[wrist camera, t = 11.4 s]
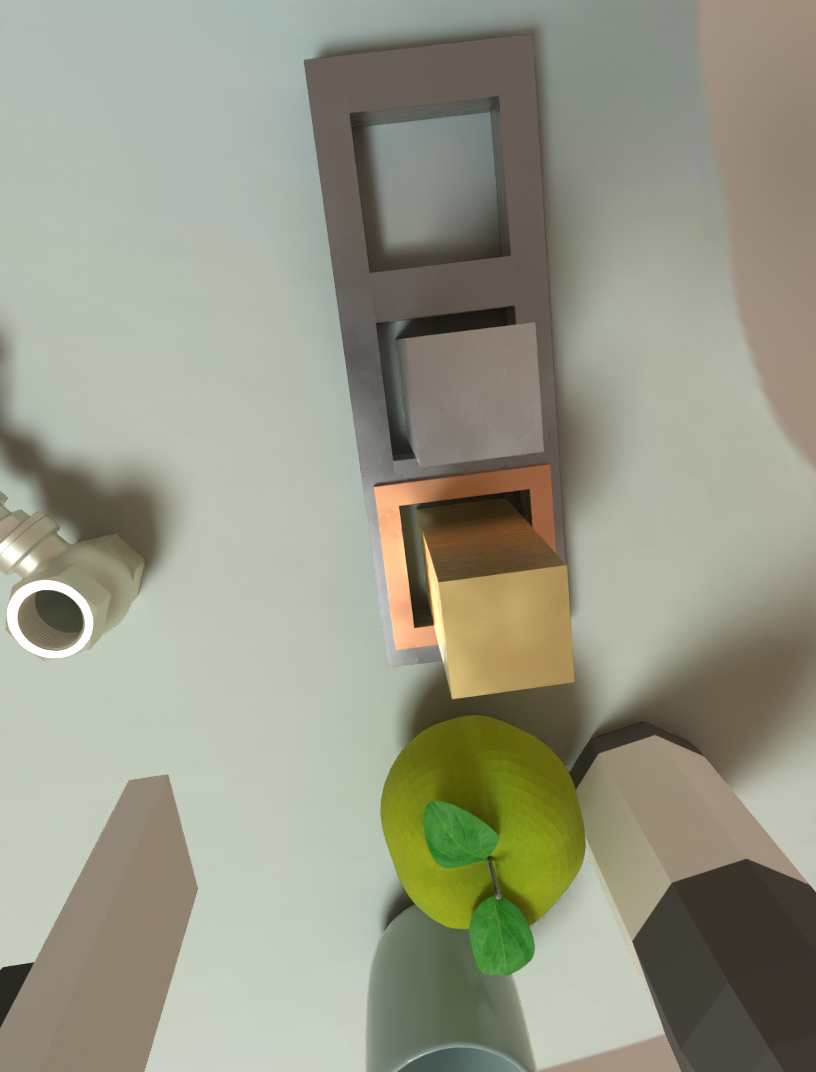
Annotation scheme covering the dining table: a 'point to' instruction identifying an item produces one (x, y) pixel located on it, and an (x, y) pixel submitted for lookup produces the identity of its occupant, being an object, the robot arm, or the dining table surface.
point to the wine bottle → (701, 904)
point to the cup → (440, 1005)
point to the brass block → (495, 599)
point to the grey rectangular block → (471, 394)
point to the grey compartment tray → (435, 288)
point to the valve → (64, 584)
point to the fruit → (483, 833)
